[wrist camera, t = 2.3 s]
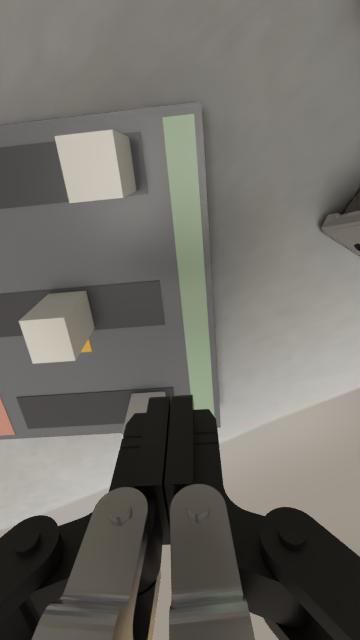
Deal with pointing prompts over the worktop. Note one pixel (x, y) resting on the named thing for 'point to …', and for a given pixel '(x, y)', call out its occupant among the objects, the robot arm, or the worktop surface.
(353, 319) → the worktop surface
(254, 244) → the worktop surface
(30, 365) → the breaker panel
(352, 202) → the electrical switch
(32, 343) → the handle
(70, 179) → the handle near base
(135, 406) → the handle outer
